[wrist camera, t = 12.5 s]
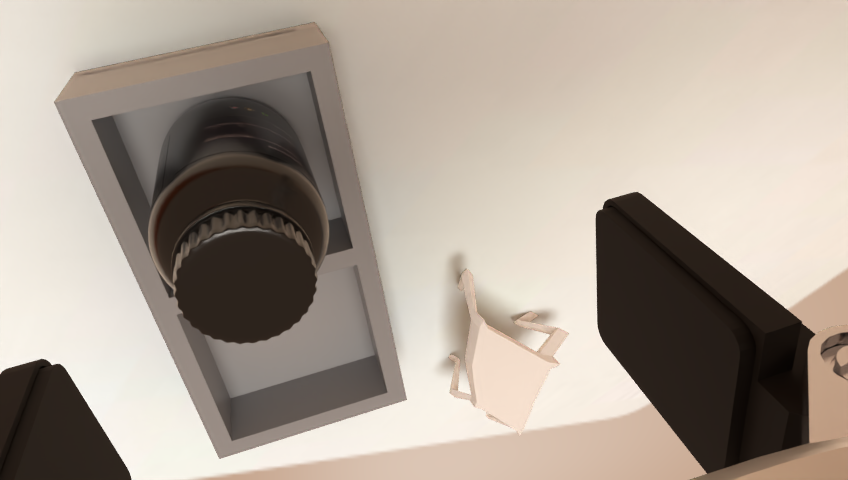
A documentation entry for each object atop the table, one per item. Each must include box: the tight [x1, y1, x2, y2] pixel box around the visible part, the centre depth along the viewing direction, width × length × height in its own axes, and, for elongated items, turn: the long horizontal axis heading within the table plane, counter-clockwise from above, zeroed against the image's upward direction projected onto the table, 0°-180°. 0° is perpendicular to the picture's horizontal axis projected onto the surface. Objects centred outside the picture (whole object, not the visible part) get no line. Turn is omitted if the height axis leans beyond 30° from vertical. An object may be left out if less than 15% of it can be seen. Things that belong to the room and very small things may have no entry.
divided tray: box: [54, 22, 407, 459], centre depth 33 cm, size 11×21×4 cm, turn 8°
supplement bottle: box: [148, 98, 329, 344], centre depth 27 cm, size 7×7×12 cm
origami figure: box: [449, 269, 569, 435], centre depth 41 cm, size 12×8×5 cm
